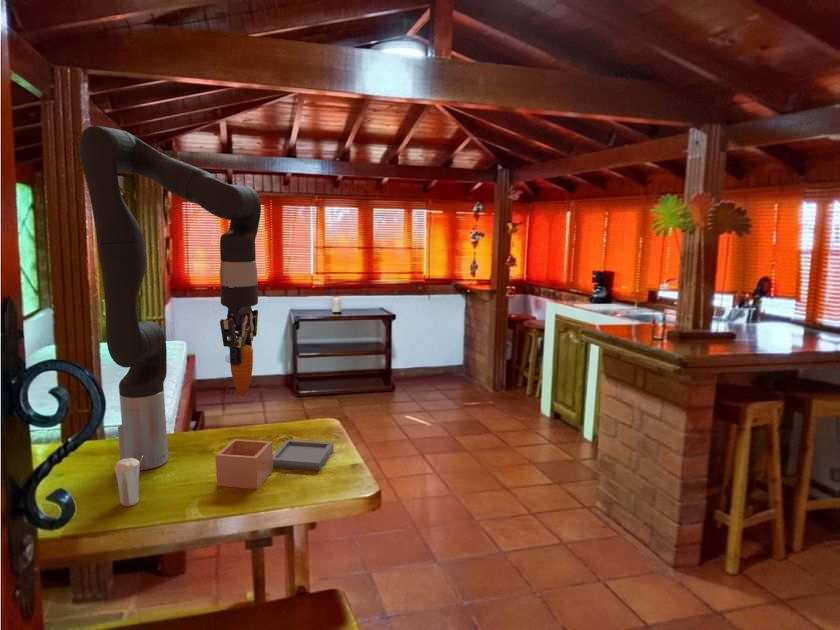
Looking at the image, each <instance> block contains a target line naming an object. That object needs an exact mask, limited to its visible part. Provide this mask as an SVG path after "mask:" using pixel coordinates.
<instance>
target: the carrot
mask: <svg viewBox="0 0 840 630" xmlns="http://www.w3.org/2000/svg"><path fill="white" fill-rule="evenodd" d="M239 332H240V331H239ZM246 337H247V332H246V331H245V334H244V337H242V340H241V347H240V348H241V364H240V365H231V364H230V363H229V364H230V374H231V377H232V382H233V385H234V387H235V389H236V391H237V393H238V395H240V396H241V397H242V398H243V397H245V395H246V394H247V392H248V390H249V387H250V384H251V381H252V380H251V379H252V375H253V366H254V350H253V346H252V347H251V346H249V345H245V344H244V342H245V340H246ZM236 339H237V337H236Z"/></svg>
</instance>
